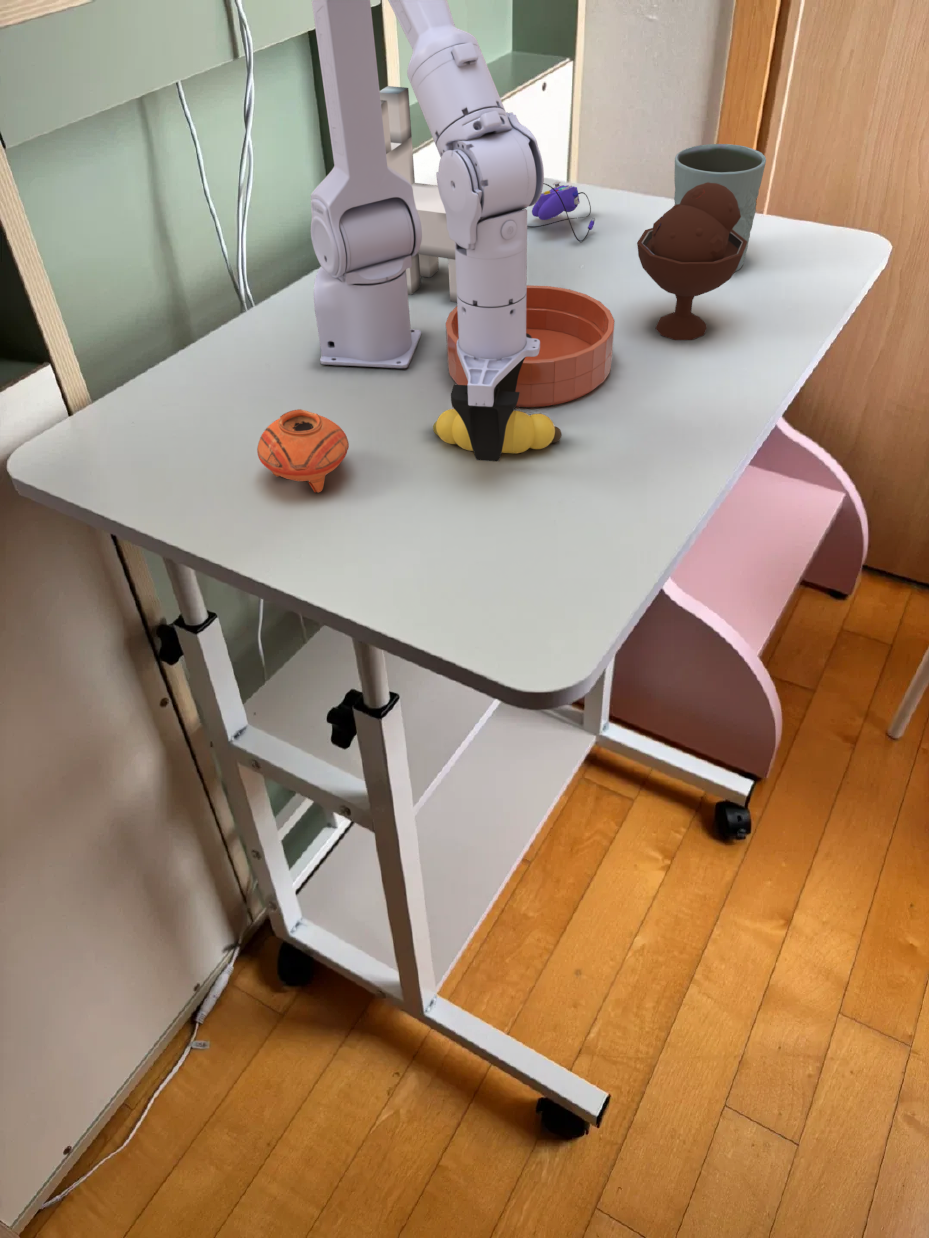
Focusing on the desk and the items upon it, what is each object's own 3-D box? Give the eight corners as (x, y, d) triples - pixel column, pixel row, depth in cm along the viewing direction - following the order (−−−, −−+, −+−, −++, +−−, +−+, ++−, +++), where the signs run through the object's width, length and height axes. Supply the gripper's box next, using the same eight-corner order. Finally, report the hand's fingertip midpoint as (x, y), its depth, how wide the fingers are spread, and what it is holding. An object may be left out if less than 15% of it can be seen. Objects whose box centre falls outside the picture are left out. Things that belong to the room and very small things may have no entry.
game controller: (508, 187, 127) (581, 165, 126) (522, 251, 130) (594, 230, 129) (515, 190, 118) (594, 166, 117) (530, 258, 121) (607, 235, 121)
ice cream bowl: (661, 297, 110) (677, 160, 100) (750, 323, 105) (776, 181, 94) (610, 333, 104) (621, 190, 94) (702, 362, 99) (724, 214, 89)
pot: (297, 439, 90) (301, 380, 85) (361, 480, 88) (369, 422, 83) (237, 478, 85) (237, 418, 80) (303, 523, 83) (308, 464, 78)
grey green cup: (743, 282, 112) (761, 175, 104) (657, 274, 115) (668, 169, 106) (752, 248, 119) (770, 145, 111) (670, 241, 122) (682, 140, 113)
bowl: (434, 404, 95) (432, 358, 91) (462, 326, 107) (460, 282, 103) (606, 414, 92) (609, 367, 89) (614, 332, 104) (618, 288, 101)
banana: (426, 456, 88) (423, 420, 85) (435, 430, 91) (432, 394, 89) (557, 464, 86) (558, 428, 84) (561, 437, 90) (563, 401, 87)
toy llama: (489, 307, 110) (486, 118, 96) (356, 285, 115) (334, 103, 102) (514, 281, 115) (514, 97, 101) (384, 261, 120) (368, 84, 106)
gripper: (530, 336, 72) (528, 484, 82) (549, 257, 83) (545, 396, 92) (438, 332, 73) (447, 478, 83) (468, 255, 84) (473, 392, 93)
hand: (494, 435), depth 88 cm, fingers open, 7 cm apart
